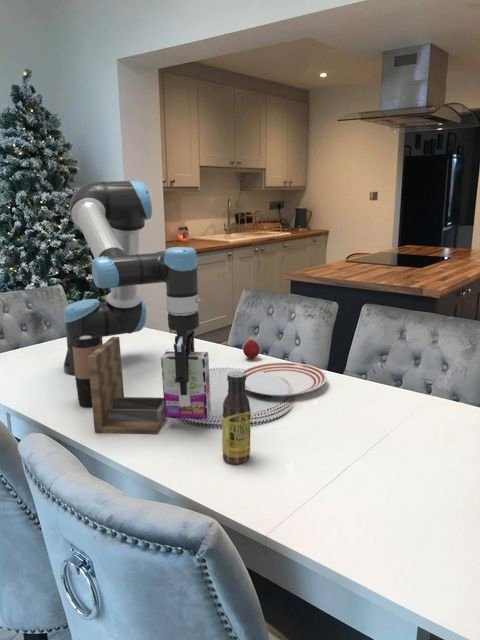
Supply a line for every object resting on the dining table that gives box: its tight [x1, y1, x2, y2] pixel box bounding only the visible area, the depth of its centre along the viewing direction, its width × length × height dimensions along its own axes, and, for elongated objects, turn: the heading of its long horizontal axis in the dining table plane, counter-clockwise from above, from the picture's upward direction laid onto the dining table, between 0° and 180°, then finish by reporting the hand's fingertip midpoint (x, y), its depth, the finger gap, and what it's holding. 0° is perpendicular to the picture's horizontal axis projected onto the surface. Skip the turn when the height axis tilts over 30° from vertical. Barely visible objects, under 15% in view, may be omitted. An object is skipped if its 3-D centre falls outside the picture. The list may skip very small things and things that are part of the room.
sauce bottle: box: [221, 370, 252, 465], centre depth 115 cm, size 6×6×20 cm
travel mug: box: [72, 333, 100, 409], centre depth 149 cm, size 8×8×20 cm
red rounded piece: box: [242, 337, 261, 361], centre depth 186 cm, size 6×6×8 cm
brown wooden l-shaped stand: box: [88, 336, 167, 435], centre depth 137 cm, size 18×16×20 cm
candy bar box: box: [160, 350, 212, 420], centre depth 132 cm, size 11×5×16 cm, turn 81°
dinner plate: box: [241, 361, 327, 397], centre depth 161 cm, size 27×27×3 cm
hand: (187, 401), depth 133 cm, fingers closed on candy bar box, 5 cm apart
